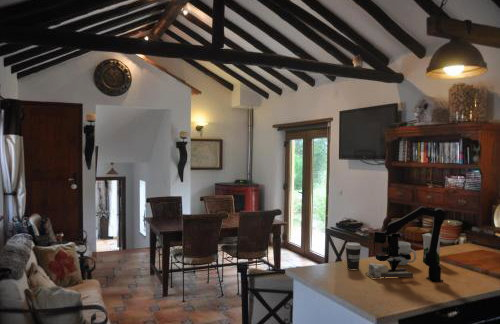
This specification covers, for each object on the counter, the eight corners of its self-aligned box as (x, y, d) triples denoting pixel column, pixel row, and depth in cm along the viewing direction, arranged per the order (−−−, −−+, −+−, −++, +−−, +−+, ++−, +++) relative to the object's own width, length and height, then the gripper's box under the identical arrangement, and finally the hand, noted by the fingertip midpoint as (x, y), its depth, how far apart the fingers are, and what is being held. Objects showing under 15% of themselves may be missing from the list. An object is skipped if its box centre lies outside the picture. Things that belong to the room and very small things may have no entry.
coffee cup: (343, 269, 235) (343, 244, 235) (347, 265, 244) (347, 241, 243) (359, 272, 231) (359, 246, 230) (362, 267, 239) (362, 243, 239)
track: (413, 277, 221) (413, 266, 221) (372, 279, 218) (372, 268, 217) (404, 272, 230) (404, 261, 230) (365, 274, 227) (365, 263, 226)
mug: (419, 265, 243) (420, 244, 243) (411, 269, 236) (412, 247, 235) (396, 260, 254) (396, 240, 254) (388, 263, 247) (388, 243, 246)
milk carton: (442, 264, 246) (442, 232, 245) (431, 265, 242) (432, 233, 242) (430, 260, 254) (430, 229, 253) (420, 262, 250) (420, 230, 250)
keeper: (388, 275, 220) (388, 267, 220) (379, 275, 220) (379, 267, 220) (383, 272, 226) (383, 264, 226) (374, 272, 226) (375, 264, 226)
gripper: (401, 240, 233) (401, 266, 233) (371, 242, 230) (371, 268, 230) (411, 244, 222) (411, 272, 222) (380, 246, 219) (380, 274, 219)
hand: (393, 271), depth 224 cm, fingers closed
